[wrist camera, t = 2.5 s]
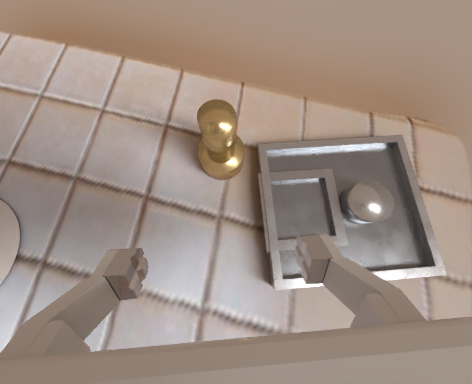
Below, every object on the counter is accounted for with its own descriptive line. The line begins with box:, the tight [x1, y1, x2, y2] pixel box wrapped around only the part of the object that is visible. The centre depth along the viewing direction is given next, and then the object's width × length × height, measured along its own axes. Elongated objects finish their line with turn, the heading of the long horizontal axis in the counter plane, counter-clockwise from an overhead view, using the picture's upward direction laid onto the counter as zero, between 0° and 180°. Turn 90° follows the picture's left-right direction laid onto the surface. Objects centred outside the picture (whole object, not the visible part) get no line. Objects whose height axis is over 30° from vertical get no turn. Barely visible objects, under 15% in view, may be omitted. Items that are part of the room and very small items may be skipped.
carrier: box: [256, 135, 447, 290], centre depth 24 cm, size 20×18×4 cm
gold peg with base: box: [197, 100, 244, 180], centre depth 23 cm, size 6×6×10 cm
